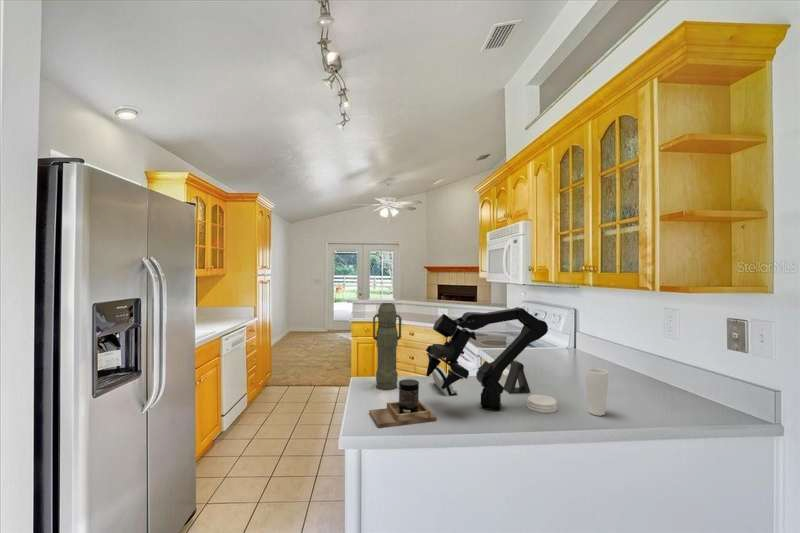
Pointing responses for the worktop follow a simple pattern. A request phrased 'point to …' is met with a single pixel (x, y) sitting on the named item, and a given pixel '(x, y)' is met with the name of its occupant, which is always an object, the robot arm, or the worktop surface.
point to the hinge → (442, 381)
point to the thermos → (386, 346)
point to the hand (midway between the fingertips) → (434, 382)
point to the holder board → (400, 415)
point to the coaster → (542, 403)
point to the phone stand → (513, 375)
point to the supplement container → (408, 396)
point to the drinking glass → (597, 390)
